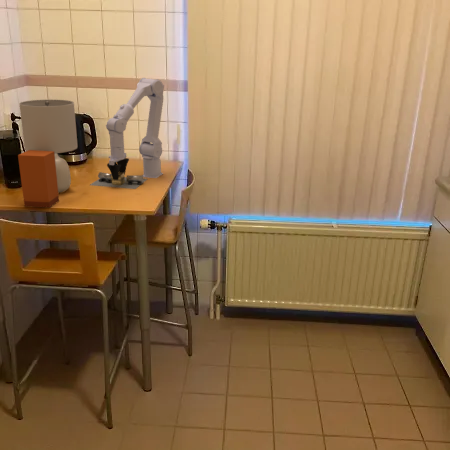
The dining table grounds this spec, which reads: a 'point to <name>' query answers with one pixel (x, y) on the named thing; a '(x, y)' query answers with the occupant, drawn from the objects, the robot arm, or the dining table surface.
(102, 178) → the shaft
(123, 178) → the tan rectangular block
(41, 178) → the tall terracotta brick
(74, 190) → the dining table surface
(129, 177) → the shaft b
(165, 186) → the dining table surface
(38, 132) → the lamp
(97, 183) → the mat
